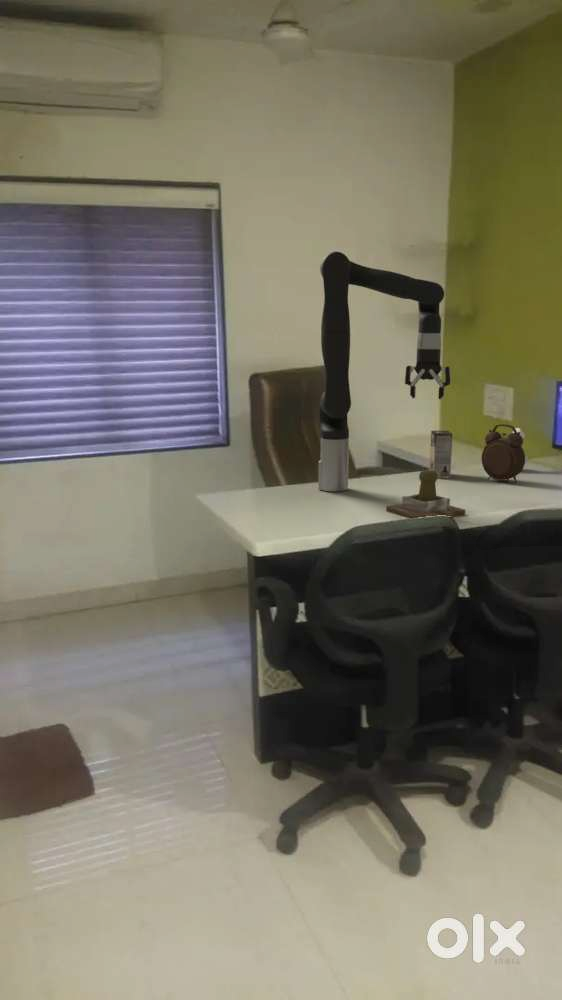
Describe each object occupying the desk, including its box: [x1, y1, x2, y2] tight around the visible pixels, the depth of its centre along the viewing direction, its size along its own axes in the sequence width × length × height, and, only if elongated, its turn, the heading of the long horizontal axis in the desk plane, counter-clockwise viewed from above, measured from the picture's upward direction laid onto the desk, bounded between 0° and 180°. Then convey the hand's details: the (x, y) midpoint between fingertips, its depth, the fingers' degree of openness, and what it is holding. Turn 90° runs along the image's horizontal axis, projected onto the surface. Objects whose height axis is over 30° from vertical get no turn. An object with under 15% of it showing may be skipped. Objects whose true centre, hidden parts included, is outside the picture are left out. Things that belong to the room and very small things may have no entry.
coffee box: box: [429, 430, 453, 479], centre depth 275 cm, size 9×6×16 cm
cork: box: [418, 469, 438, 502], centre depth 221 cm, size 6×6×11 cm
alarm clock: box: [481, 423, 526, 484], centre depth 265 cm, size 14×7×20 cm, turn 40°
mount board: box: [385, 493, 466, 519], centre depth 222 cm, size 16×16×4 cm
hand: (426, 398), depth 248 cm, fingers open, 8 cm apart
